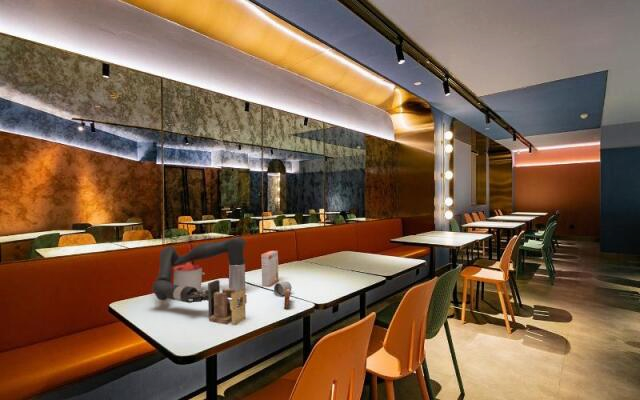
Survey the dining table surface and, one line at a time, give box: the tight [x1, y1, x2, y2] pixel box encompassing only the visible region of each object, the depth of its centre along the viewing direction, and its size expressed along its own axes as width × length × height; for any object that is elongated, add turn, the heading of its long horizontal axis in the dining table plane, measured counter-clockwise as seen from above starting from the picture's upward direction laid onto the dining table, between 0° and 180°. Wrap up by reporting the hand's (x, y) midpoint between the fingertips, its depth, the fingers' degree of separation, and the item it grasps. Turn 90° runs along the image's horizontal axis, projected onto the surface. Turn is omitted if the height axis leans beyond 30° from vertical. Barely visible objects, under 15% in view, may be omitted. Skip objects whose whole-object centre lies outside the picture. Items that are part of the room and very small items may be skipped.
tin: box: [283, 288, 291, 309], centre depth 167 cm, size 15×3×8 cm, turn 5°
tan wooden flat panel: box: [230, 288, 248, 326], centre depth 146 cm, size 2×10×14 cm, turn 157°
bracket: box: [208, 288, 235, 325], centre depth 149 cm, size 10×10×13 cm
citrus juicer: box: [173, 262, 206, 291], centre depth 184 cm, size 16×17×20 cm
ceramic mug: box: [273, 281, 292, 297], centre depth 186 cm, size 11×8×8 cm
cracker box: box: [260, 250, 279, 287], centre depth 209 cm, size 14×6×21 cm, turn 163°
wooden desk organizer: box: [207, 279, 241, 318], centre depth 149 cm, size 16×6×16 cm, turn 67°
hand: (212, 298), depth 151 cm, fingers closed
